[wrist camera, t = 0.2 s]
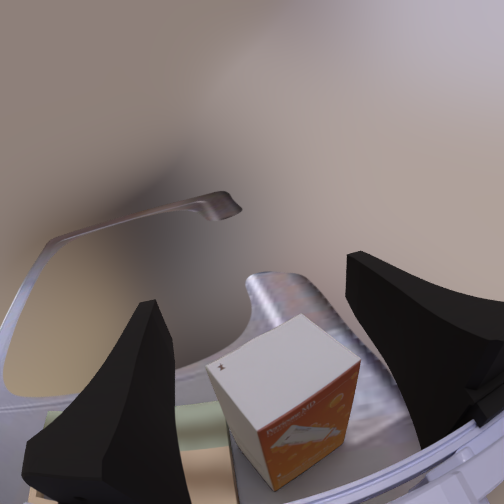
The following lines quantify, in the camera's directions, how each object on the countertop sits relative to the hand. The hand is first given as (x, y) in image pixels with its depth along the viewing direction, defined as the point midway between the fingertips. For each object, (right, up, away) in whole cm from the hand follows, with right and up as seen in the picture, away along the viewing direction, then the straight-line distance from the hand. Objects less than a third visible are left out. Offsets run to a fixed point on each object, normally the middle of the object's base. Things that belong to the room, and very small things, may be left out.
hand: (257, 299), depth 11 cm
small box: (+3, -17, +14) cm, 22 cm away
